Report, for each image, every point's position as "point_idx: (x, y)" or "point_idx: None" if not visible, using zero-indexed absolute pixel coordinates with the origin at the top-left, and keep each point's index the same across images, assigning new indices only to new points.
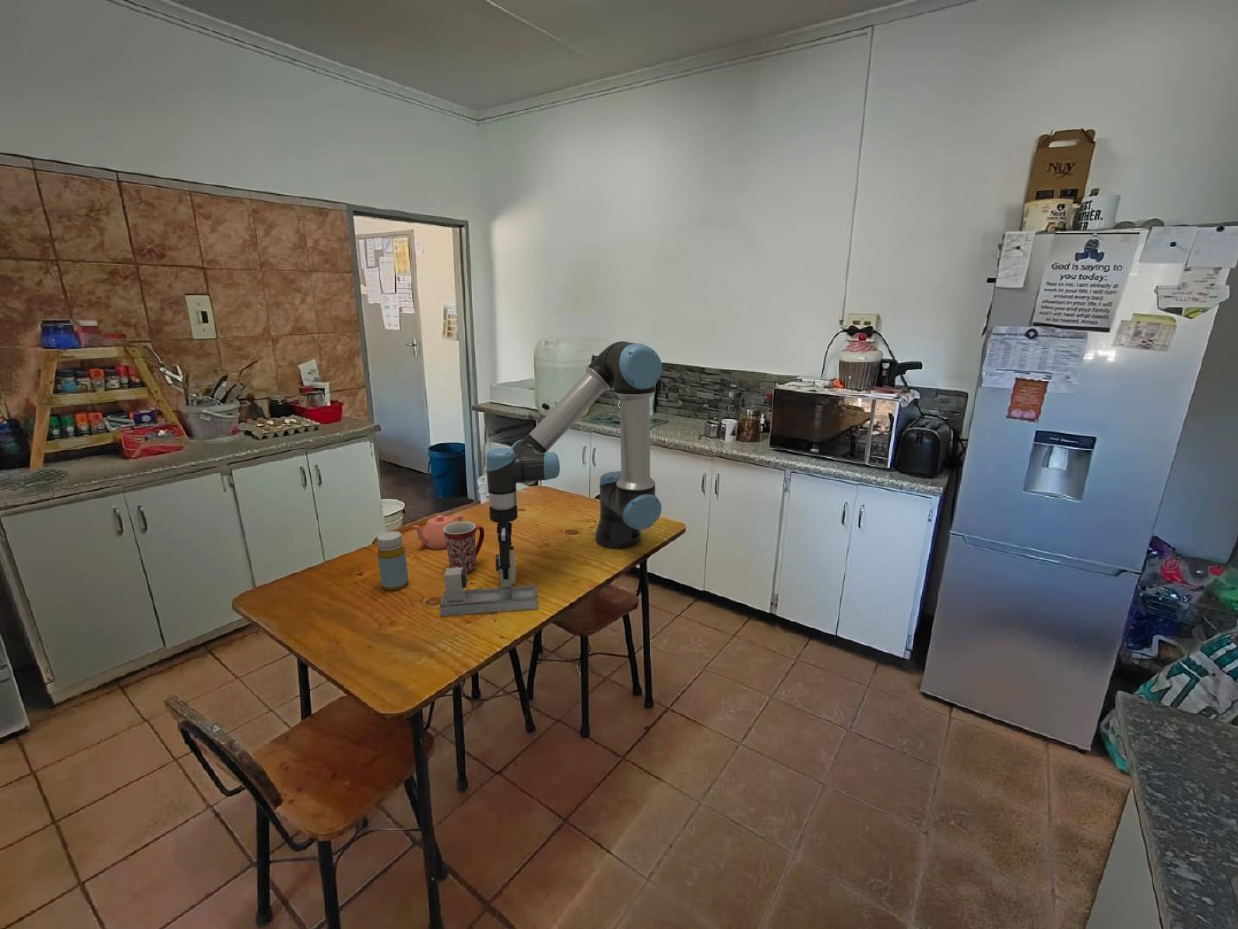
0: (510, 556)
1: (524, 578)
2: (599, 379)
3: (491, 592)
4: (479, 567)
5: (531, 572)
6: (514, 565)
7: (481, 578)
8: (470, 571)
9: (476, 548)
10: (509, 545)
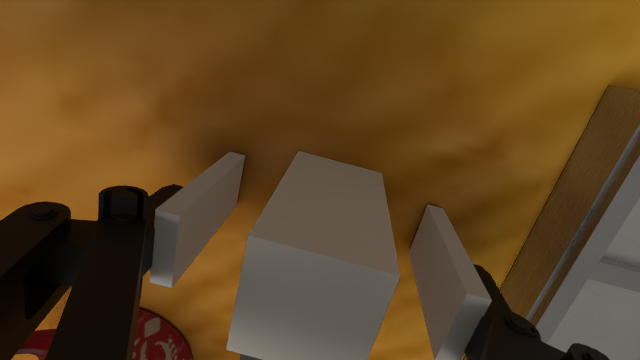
0: (360, 294)
1: (343, 104)
2: None
3: None
4: None
5: (277, 37)
6: (324, 197)
7: None
8: (179, 342)
9: None
10: (140, 271)
